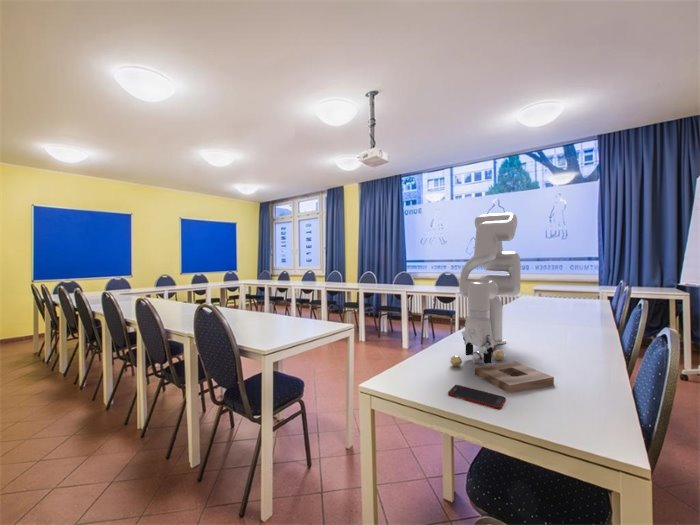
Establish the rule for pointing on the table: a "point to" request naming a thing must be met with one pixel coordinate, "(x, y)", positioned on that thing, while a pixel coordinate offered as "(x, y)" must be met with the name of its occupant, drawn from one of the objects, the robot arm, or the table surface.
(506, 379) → the pocket plate
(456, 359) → the brass ball
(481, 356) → the steel ball
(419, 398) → the table surface
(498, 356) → the brass ball
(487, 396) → the cell phone
